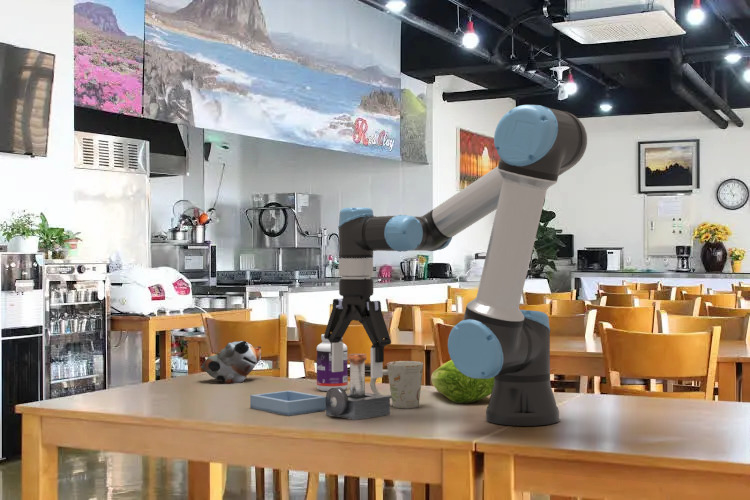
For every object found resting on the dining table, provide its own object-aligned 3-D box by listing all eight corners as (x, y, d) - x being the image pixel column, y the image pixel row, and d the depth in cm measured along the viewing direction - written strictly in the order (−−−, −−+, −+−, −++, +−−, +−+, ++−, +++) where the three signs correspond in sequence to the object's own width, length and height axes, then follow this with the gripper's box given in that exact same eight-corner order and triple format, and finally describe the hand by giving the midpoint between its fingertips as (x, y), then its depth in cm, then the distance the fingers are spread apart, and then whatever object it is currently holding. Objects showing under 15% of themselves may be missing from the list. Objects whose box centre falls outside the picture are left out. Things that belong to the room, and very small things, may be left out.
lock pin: (370, 414, 217) (369, 354, 217) (356, 416, 215) (355, 355, 215) (359, 412, 220) (358, 353, 220) (345, 414, 218) (344, 354, 218)
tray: (327, 410, 224) (327, 396, 224) (288, 415, 217) (287, 402, 217) (289, 403, 235) (289, 390, 235) (250, 408, 228) (250, 395, 228)
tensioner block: (390, 414, 217) (389, 385, 217) (347, 421, 209) (347, 390, 209) (361, 409, 224) (360, 380, 224) (319, 415, 217) (318, 385, 217)
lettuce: (466, 369, 255) (428, 342, 251) (513, 374, 232) (472, 344, 229) (442, 409, 252) (404, 382, 248) (488, 418, 229) (447, 389, 226)
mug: (420, 409, 223) (420, 365, 223) (366, 408, 226) (365, 364, 226) (426, 403, 232) (425, 361, 232) (373, 403, 234) (373, 360, 234)
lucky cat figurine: (231, 376, 288) (253, 334, 287) (253, 396, 279) (276, 353, 278) (192, 366, 277) (215, 322, 276) (213, 386, 268) (237, 342, 267)
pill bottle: (313, 388, 260) (312, 333, 260) (343, 387, 262) (342, 332, 262) (321, 392, 252) (320, 336, 252) (351, 391, 254) (350, 335, 254)
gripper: (407, 278, 210) (407, 378, 210) (334, 276, 229) (335, 367, 229) (380, 279, 205) (380, 381, 206) (308, 277, 225) (309, 370, 225)
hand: (356, 374), depth 218 cm, fingers open, 13 cm apart
